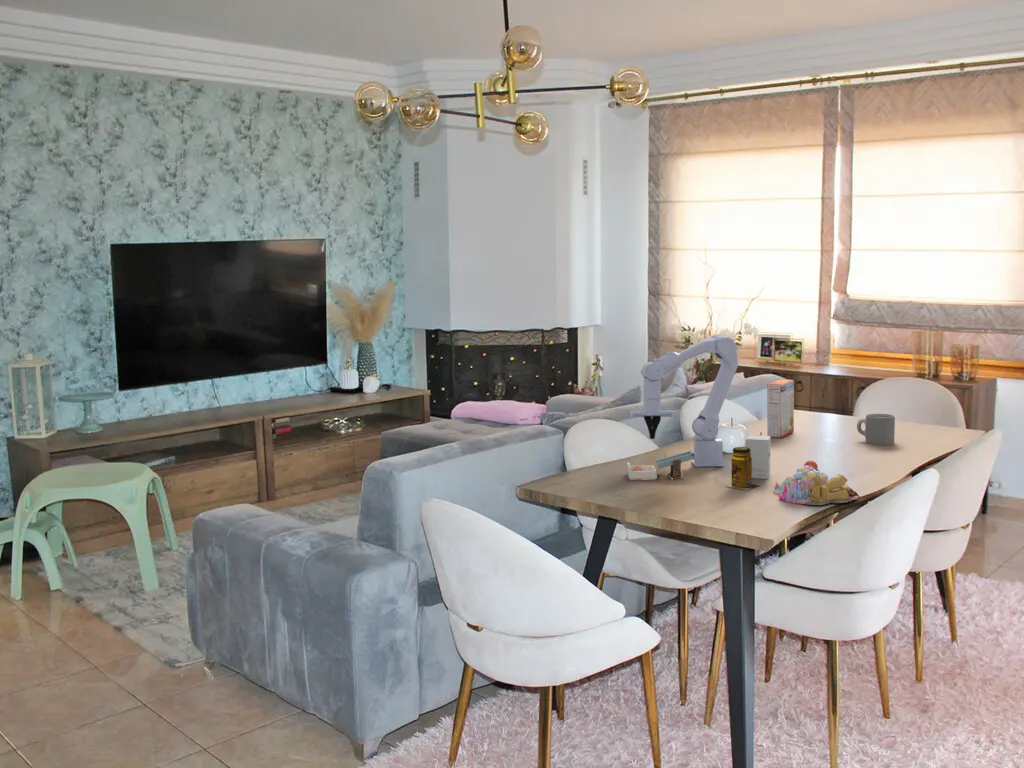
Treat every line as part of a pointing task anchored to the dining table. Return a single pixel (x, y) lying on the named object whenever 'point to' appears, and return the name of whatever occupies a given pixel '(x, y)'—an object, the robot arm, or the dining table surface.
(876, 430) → the coffee mug
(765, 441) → the supplement box
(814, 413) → the dining table surface
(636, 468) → the ball
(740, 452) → the condiment
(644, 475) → the dish
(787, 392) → the cracker box
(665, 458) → the lever
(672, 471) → the fulcrum
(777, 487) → the candy landscape model
